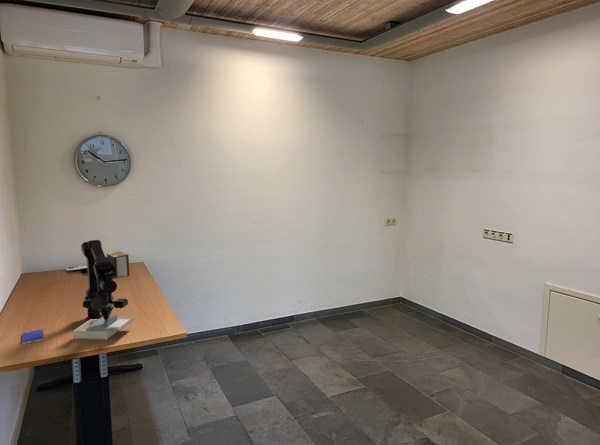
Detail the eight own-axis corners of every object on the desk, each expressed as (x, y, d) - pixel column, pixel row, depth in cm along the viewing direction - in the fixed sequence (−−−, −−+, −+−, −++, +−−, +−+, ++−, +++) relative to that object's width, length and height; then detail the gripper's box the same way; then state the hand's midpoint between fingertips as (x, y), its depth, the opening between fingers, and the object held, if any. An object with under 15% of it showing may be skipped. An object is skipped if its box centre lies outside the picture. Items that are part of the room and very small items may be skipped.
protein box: (122, 271, 304) (121, 251, 302) (129, 275, 292) (128, 254, 290) (107, 274, 297) (106, 253, 295) (114, 278, 285) (113, 256, 283)
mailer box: (91, 327, 196) (90, 319, 196) (121, 327, 196) (121, 319, 195) (74, 339, 182) (73, 330, 182) (106, 339, 182) (106, 331, 181)
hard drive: (22, 332, 187) (21, 342, 176) (43, 328, 191) (43, 338, 181) (22, 335, 187) (22, 345, 177) (43, 332, 191) (44, 341, 181)
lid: (102, 318, 196) (102, 312, 195) (134, 319, 195) (133, 312, 195) (85, 330, 181) (85, 323, 181) (119, 331, 181) (119, 324, 180)
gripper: (74, 292, 178) (76, 327, 180) (116, 293, 178) (117, 328, 180) (88, 285, 189) (90, 318, 191) (127, 286, 189) (129, 319, 191)
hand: (106, 320), depth 188 cm, fingers closed
